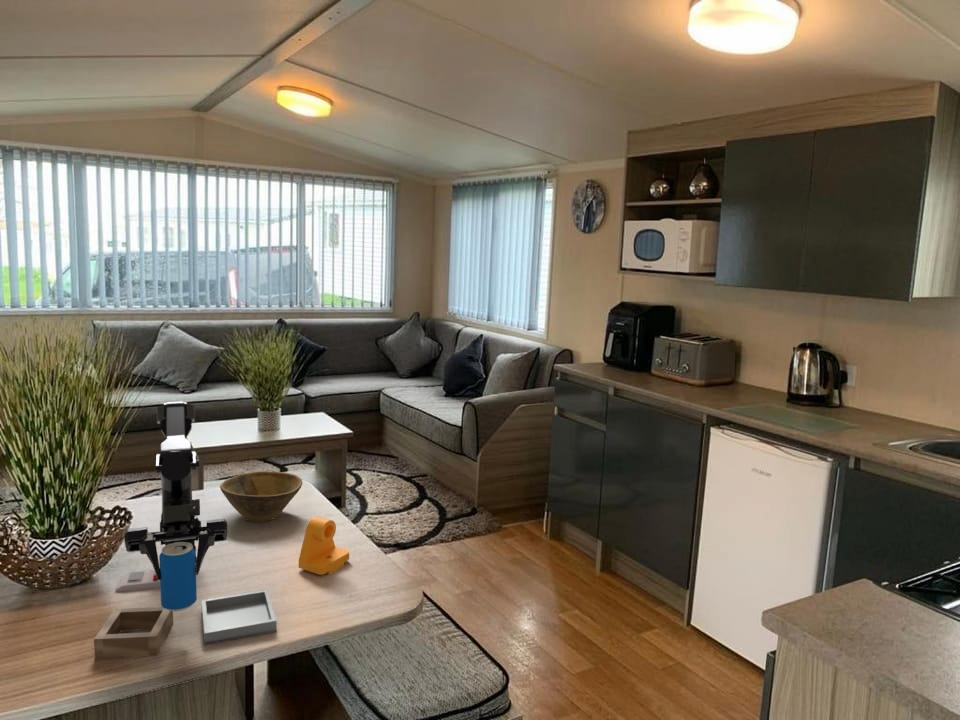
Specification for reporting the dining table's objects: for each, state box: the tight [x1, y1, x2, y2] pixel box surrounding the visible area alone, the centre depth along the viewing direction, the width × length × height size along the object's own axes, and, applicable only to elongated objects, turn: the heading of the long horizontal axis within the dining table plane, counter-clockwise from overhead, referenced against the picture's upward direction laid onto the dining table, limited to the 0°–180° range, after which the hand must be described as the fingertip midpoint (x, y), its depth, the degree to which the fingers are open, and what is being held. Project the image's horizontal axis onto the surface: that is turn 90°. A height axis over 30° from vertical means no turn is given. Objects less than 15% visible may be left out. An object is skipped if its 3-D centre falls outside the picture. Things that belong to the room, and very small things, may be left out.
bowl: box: [219, 470, 303, 523], centre depth 199 cm, size 22×23×10 cm
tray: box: [200, 589, 277, 646], centre depth 144 cm, size 14×14×2 cm
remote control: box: [114, 569, 161, 593], centre depth 159 cm, size 7×16×3 cm, turn 108°
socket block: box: [93, 606, 174, 660], centre depth 135 cm, size 11×11×4 cm
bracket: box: [298, 515, 350, 575], centre depth 169 cm, size 11×7×12 cm, turn 151°
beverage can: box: [158, 542, 198, 612], centre depth 136 cm, size 6×6×12 cm
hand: (178, 576), depth 135 cm, fingers closed on beverage can, 6 cm apart
